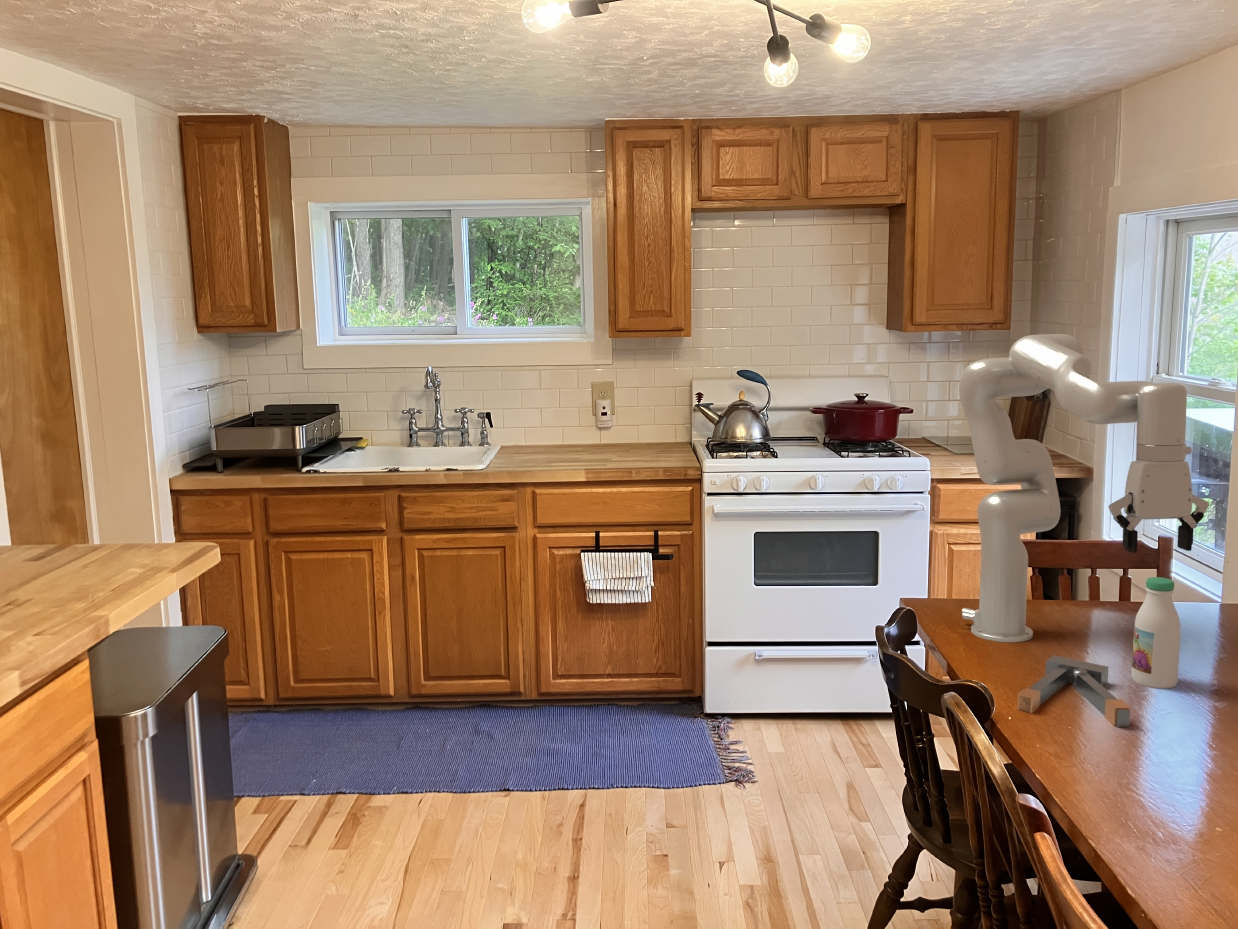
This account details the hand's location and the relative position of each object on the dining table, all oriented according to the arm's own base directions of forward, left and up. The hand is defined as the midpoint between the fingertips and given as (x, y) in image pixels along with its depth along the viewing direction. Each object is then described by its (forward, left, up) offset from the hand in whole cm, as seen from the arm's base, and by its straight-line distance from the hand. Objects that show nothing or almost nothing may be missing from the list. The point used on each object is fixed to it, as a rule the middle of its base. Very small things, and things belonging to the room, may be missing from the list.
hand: (1157, 550), depth 177 cm
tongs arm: (-6, -9, -27) cm, 29 cm away
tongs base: (-13, -9, -28) cm, 32 cm away
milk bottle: (-1, +9, -28) cm, 29 cm away
